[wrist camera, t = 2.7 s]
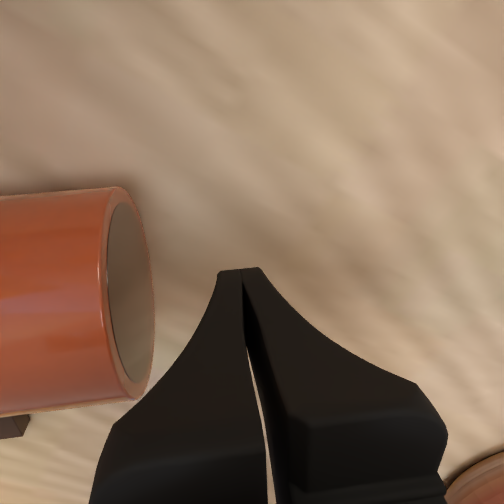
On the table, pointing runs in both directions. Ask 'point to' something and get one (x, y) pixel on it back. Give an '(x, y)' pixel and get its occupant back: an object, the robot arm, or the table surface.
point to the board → (13, 426)
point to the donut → (479, 483)
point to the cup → (73, 301)
